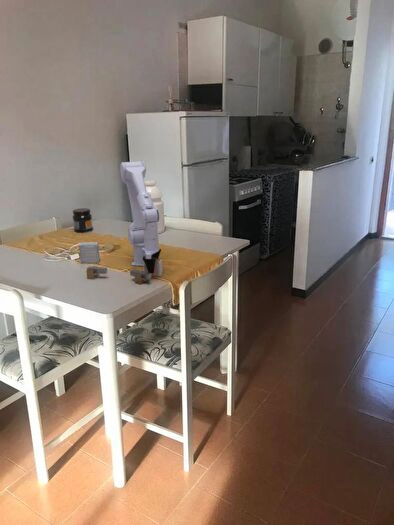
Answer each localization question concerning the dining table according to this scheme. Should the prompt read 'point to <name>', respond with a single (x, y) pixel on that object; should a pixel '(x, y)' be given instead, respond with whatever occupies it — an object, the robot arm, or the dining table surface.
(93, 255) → the medicine box
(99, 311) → the dining table surface
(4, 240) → the dining table surface
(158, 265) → the block
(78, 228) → the supplement container
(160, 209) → the bottle
